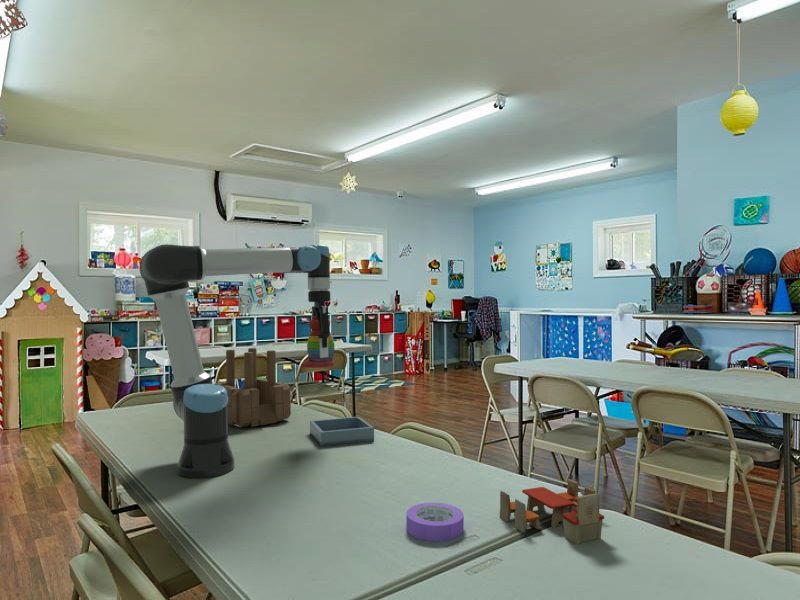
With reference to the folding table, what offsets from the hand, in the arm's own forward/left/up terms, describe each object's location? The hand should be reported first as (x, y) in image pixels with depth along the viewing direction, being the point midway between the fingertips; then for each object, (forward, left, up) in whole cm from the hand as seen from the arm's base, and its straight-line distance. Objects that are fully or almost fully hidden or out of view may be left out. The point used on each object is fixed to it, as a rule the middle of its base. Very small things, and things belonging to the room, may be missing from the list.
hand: (320, 355), depth 184 cm
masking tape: (-82, -6, -29) cm, 87 cm away
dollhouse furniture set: (-89, -30, -29) cm, 99 cm away
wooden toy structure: (+43, +19, -28) cm, 55 cm away
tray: (-2, -7, -28) cm, 29 cm away
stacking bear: (0, 0, -4) cm, 4 cm away
